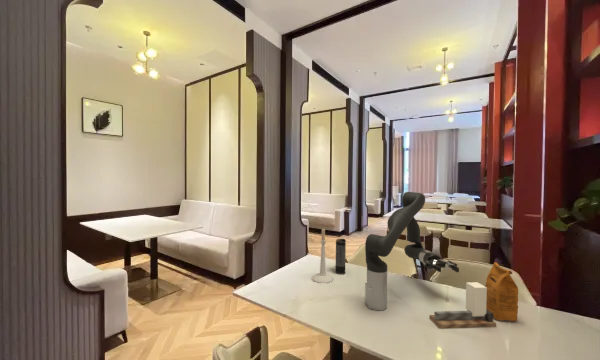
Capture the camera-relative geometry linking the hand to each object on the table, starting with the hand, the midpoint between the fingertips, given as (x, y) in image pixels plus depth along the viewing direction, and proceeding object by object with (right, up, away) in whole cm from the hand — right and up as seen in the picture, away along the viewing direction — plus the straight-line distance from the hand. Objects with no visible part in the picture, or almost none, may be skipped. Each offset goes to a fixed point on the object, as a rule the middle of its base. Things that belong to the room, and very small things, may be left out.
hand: (449, 270), depth 117 cm
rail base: (-2, -18, -12) cm, 21 cm away
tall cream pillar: (+4, -14, -12) cm, 19 cm away
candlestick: (-56, -17, +31) cm, 67 cm away
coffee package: (+19, -18, -6) cm, 27 cm away
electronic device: (-44, -17, +43) cm, 64 cm away
